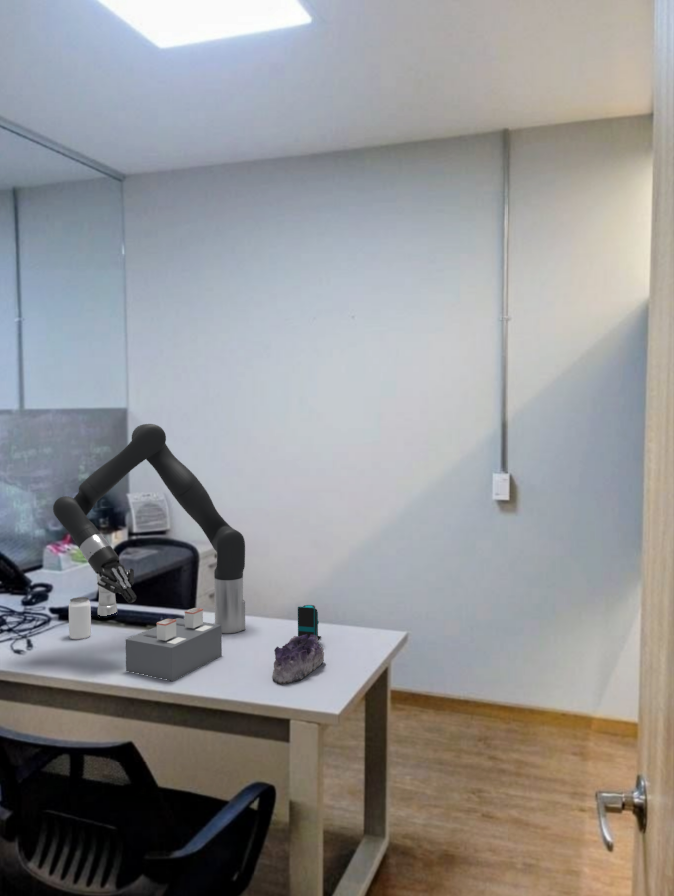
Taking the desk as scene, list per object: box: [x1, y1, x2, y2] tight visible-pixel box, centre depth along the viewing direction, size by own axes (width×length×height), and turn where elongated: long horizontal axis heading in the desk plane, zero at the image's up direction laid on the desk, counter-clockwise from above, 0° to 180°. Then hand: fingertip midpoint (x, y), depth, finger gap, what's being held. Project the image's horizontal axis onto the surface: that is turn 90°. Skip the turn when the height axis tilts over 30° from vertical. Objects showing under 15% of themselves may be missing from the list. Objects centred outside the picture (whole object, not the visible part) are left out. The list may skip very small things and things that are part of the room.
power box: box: [125, 617, 223, 682], centre depth 197 cm, size 16×22×9 cm
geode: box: [271, 634, 325, 686], centre depth 191 cm, size 20×12×10 cm, turn 160°
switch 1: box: [155, 618, 176, 641], centre depth 191 cm, size 3×4×4 cm
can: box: [68, 596, 92, 641], centre depth 221 cm, size 6×6×12 cm
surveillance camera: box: [297, 604, 322, 641], centre depth 216 cm, size 6×12×10 cm
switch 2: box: [184, 607, 204, 628], centre depth 202 cm, size 3×4×4 cm
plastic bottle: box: [96, 574, 118, 616], centre depth 241 cm, size 6×7×20 cm
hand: (133, 600), depth 196 cm, fingers closed
